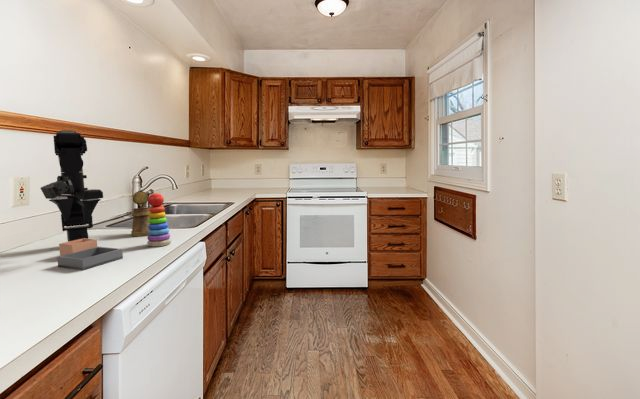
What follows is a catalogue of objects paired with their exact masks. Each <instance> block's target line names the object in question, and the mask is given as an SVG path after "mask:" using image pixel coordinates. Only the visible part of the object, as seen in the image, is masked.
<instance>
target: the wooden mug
mask: <svg viewBox="0 0 640 399" xmlns="http://www.w3.org/2000/svg"><path fill="white" fill-rule="evenodd" d="M148 198H149V194H148V193H146V191H143V190H138V191H136V192H135V193H134V194H132V201H133V203H134V204H136V205H137V207H135V208H133V210H132V213H131V216H132V225H131V227H132V228H131V229H132V230H131V233H130V234H131V235H130V236H132V237H136V236H140V237H148V235H149V234H148V230H149V228H148V225H149V224H150V223H149V222H148V220H149V219H150V218H149V216H148V215H149V214H150V213H151V212H150V211H149V208H150V207H145V204H146V203H147V202H148Z"/></svg>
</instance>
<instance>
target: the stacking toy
mask: <svg viewBox="0 0 640 399" xmlns="http://www.w3.org/2000/svg"><path fill="white" fill-rule="evenodd" d="M164 201H165V199H164V196H163V195H162V194H160V193H157V192H153V193H152V194H149V195H148V201H147V202H148V204H149V207H148V208H149V211H150V212H151V213H150V214H149V215H148V216H149V218H150V219H149V220H148V222H149V223H150V224H149V225H148V228H149V230H148V234H149V235H148V236H146V237H147V238H146V239H147V243H146V244H147V246H149V247H152V248H153V247H154V248H155V247H156V248H157V247H164V246H168V245H170V244H172V238H171V234H170V228H169V224H168V222H167V221H168V220H167V218H166V212H165V206H163V204H164Z"/></svg>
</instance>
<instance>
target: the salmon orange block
mask: <svg viewBox="0 0 640 399" xmlns="http://www.w3.org/2000/svg"><path fill="white" fill-rule="evenodd" d="M97 240H98V239H95V238H88V239H86V238H83V239H78V240H74V241H69V242H68V241H65V242H60V243H58V246H59V256H62V255H66V254H70V253H74V252H79V251H83V250H87V249H91V248H95V247H98V241H97Z"/></svg>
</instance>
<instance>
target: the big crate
mask: <svg viewBox="0 0 640 399" xmlns="http://www.w3.org/2000/svg"><path fill="white" fill-rule="evenodd" d="M123 253H124V252H123V248H116V247H107V246H106V247H105V246H97V247H95V248H91V249H87V250H83V251H79V252H74V253H70V254H66V255H62V256H60V255H59V256H57V258H56V259H57V267H58V268H64V269H69V270H70V269H72V270H77V271H79V270H80V271H86V270H88V269H92V268H95V267H99V266H102V265H106V264H109V263H112V262H115V261H119V260H122V259H123V258H124V255H123Z"/></svg>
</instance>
